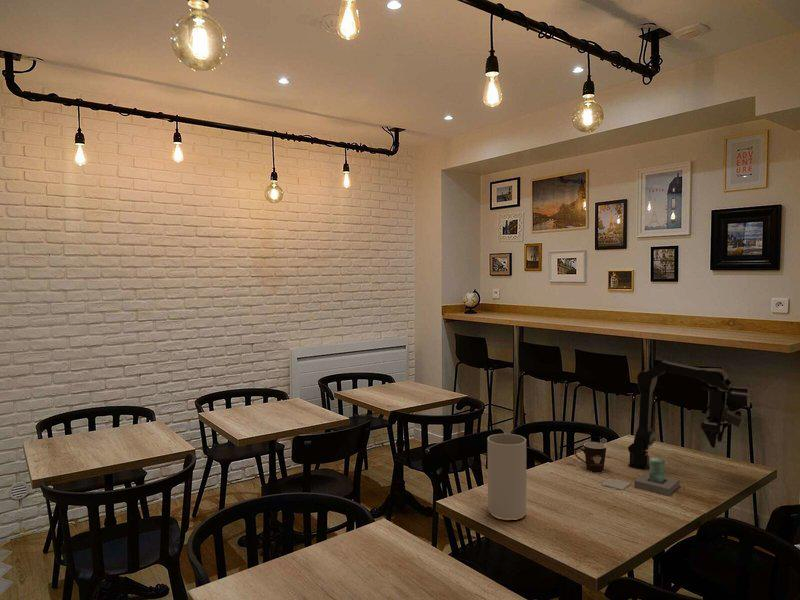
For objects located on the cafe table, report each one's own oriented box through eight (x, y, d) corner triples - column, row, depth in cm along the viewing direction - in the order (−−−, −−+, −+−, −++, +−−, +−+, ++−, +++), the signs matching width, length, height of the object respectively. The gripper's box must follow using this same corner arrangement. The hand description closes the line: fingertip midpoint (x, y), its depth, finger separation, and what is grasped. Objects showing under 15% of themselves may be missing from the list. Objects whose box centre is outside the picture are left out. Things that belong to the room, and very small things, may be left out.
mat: (601, 485, 205) (601, 483, 205) (609, 479, 211) (609, 478, 210) (622, 490, 199) (622, 489, 199) (630, 484, 205) (630, 483, 205)
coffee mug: (608, 468, 222) (608, 444, 222) (603, 475, 215) (603, 449, 215) (579, 463, 228) (579, 439, 228) (573, 469, 221) (573, 445, 221)
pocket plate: (634, 487, 202) (634, 480, 202) (646, 478, 211) (646, 471, 211) (669, 495, 194) (669, 488, 194) (679, 486, 203) (679, 479, 203)
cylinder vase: (481, 515, 180) (480, 440, 179) (498, 502, 190) (498, 431, 189) (516, 525, 173) (515, 447, 172) (532, 511, 183) (532, 437, 182)
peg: (649, 487, 202) (649, 460, 202) (653, 483, 205) (653, 457, 205) (661, 489, 200) (661, 462, 199) (664, 486, 203) (664, 459, 202)
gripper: (736, 411, 192) (735, 455, 192) (747, 401, 205) (747, 443, 206) (700, 406, 199) (700, 448, 200) (714, 397, 213) (713, 437, 213)
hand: (716, 444), depth 205 cm, fingers open, 9 cm apart
